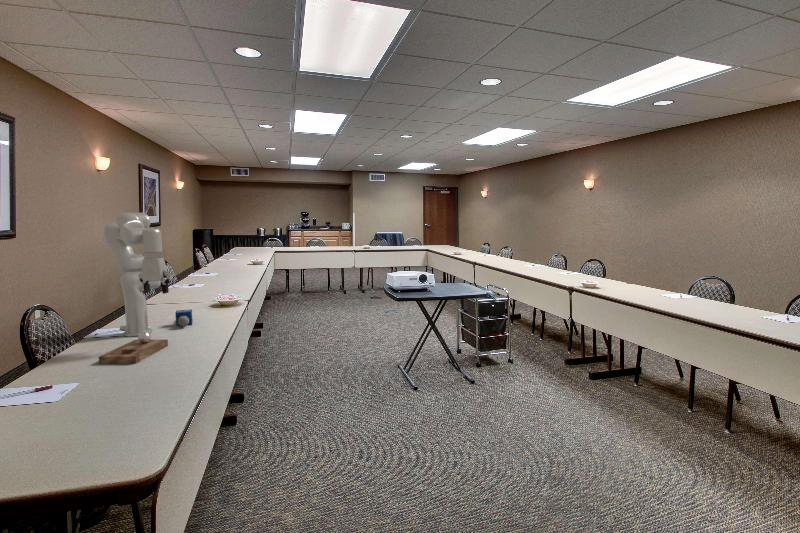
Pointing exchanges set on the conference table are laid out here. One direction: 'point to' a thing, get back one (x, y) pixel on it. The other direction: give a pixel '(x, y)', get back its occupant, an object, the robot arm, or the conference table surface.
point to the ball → (144, 337)
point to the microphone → (184, 317)
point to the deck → (132, 352)
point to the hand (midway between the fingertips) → (156, 292)
